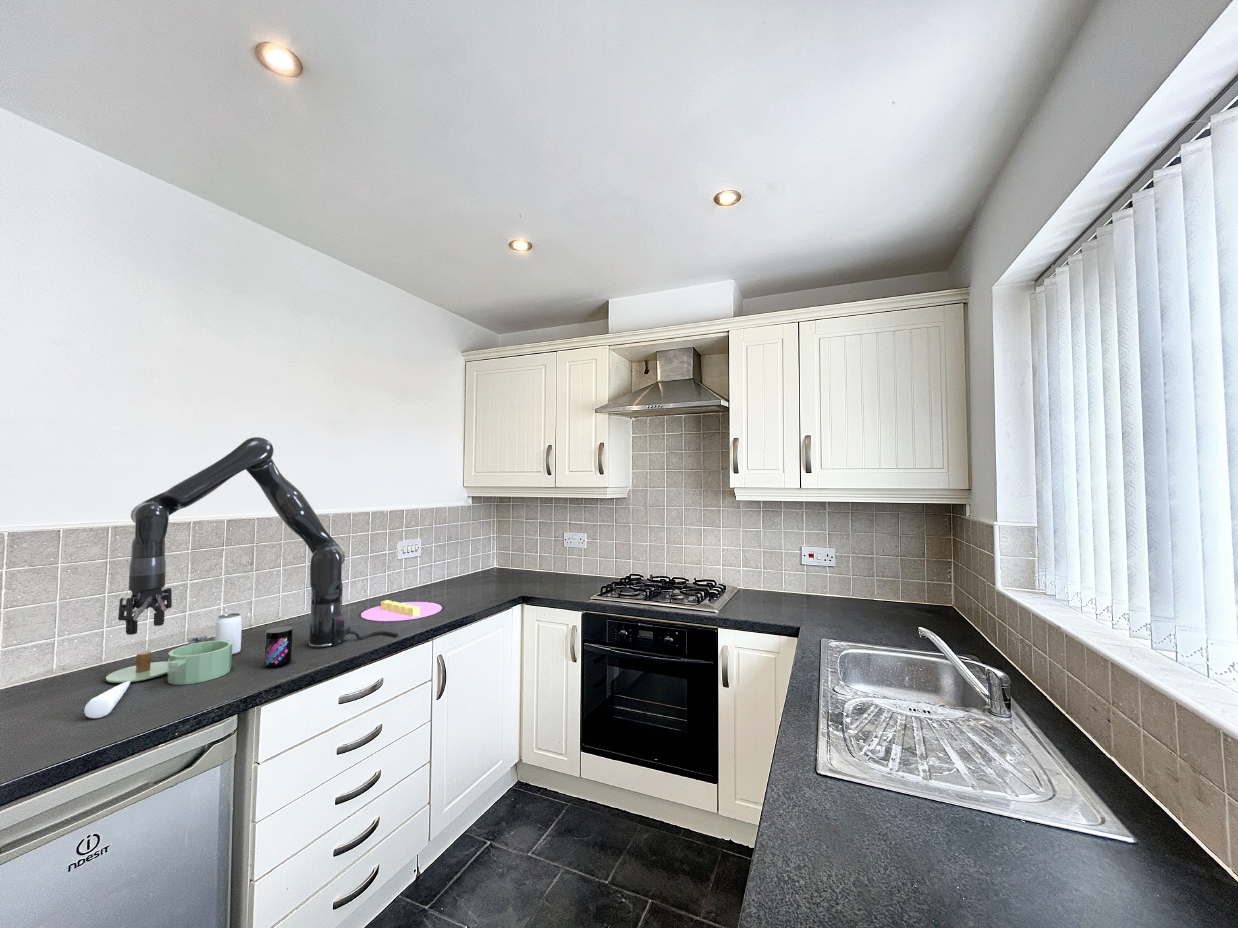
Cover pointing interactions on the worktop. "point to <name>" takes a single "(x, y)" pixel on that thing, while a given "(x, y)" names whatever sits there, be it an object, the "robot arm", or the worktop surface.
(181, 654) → the pan
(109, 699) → the unicorn horn
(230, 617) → the can
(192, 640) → the egg carton
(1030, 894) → the worktop surface
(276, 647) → the supplement container
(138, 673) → the pan lid
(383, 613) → the platter
